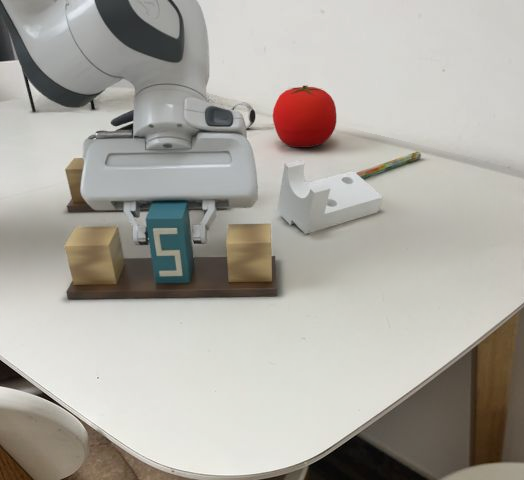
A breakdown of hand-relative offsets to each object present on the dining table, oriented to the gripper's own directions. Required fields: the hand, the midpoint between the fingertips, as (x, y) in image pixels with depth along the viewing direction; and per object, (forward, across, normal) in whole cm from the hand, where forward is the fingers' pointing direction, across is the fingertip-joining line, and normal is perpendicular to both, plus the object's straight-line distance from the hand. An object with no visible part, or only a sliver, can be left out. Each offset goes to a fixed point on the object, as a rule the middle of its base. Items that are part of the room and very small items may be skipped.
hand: (170, 243), depth 65 cm
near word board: (+3, 0, +4) cm, 5 cm away
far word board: (-14, -7, +22) cm, 27 cm away
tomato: (-33, +18, +40) cm, 55 cm away
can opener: (-41, -13, +49) cm, 65 cm away
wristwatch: (-41, +6, +49) cm, 64 cm away
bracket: (-9, +20, +17) cm, 28 cm away
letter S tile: (+2, 0, +3) cm, 4 cm away
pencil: (-22, +31, +30) cm, 48 cm away
